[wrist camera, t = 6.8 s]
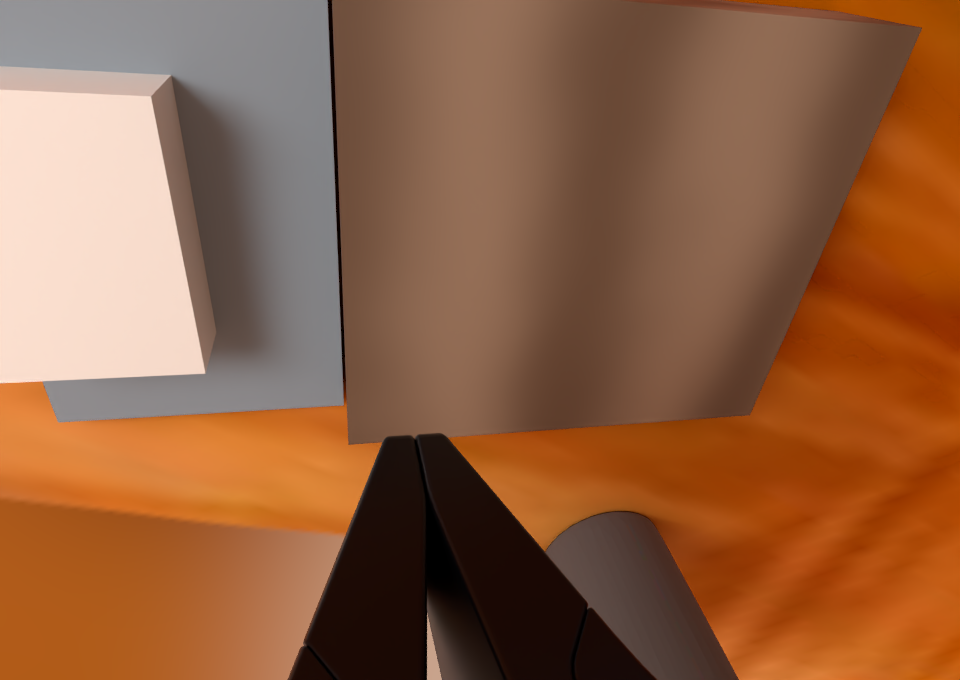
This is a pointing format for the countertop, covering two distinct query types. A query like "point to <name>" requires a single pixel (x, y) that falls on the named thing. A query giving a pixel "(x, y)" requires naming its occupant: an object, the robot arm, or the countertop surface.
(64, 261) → the pale pink rectangular block
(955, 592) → the countertop surface
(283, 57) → the mat
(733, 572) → the countertop surface
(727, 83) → the step
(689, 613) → the bottle
